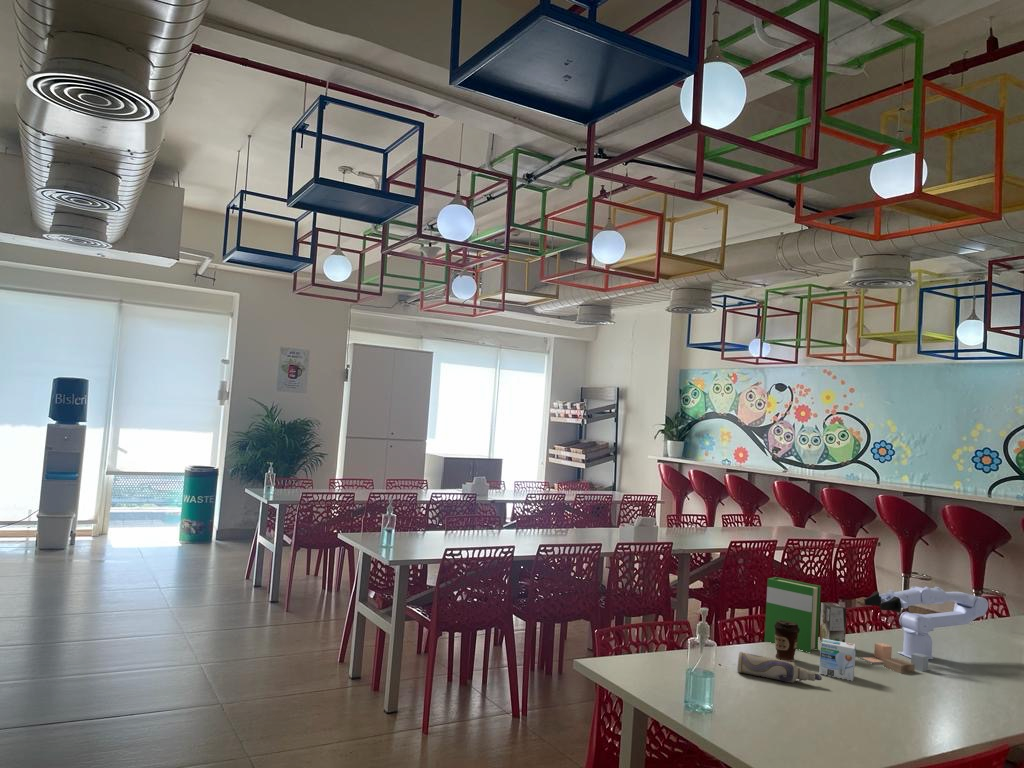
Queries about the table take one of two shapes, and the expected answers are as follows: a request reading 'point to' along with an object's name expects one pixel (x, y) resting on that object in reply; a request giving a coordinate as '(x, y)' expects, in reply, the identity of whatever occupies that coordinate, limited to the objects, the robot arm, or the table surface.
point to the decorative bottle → (773, 668)
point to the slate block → (920, 661)
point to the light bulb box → (837, 659)
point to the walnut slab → (899, 665)
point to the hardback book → (793, 610)
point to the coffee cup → (786, 639)
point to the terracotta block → (882, 651)
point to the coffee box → (832, 622)
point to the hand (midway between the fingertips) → (872, 604)
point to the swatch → (872, 660)
